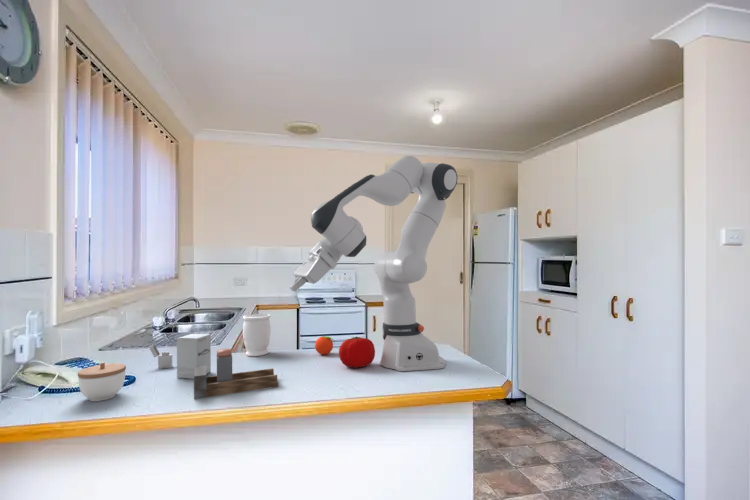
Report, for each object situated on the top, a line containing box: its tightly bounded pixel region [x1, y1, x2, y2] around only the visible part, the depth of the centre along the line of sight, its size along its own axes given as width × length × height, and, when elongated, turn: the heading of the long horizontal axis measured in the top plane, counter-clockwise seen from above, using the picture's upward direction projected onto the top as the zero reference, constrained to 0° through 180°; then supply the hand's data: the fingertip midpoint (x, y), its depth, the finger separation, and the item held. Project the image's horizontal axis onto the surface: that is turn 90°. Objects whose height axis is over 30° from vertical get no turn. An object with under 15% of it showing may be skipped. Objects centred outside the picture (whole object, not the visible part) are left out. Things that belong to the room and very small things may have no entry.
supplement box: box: [176, 333, 212, 380], centre depth 124 cm, size 7×7×13 cm
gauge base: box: [193, 366, 279, 400], centre depth 112 cm, size 22×10×6 cm, turn 113°
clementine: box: [314, 335, 335, 356], centre depth 148 cm, size 8×7×7 cm
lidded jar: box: [77, 361, 127, 402], centre depth 105 cm, size 11×11×9 cm
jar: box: [242, 313, 271, 357], centre depth 150 cm, size 11×10×15 cm
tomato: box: [338, 336, 376, 369], centre depth 131 cm, size 11×13×10 cm
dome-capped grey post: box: [216, 348, 233, 382], centre depth 110 cm, size 4×5×9 cm
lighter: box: [148, 343, 173, 369], centre depth 133 cm, size 7×2×8 cm, turn 96°
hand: (292, 289), depth 119 cm, fingers closed
